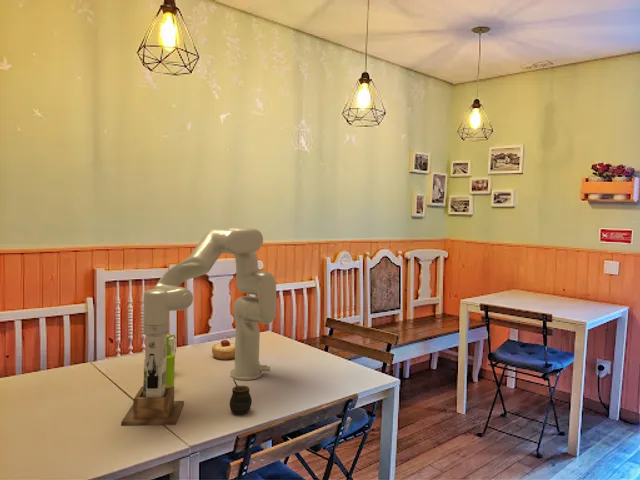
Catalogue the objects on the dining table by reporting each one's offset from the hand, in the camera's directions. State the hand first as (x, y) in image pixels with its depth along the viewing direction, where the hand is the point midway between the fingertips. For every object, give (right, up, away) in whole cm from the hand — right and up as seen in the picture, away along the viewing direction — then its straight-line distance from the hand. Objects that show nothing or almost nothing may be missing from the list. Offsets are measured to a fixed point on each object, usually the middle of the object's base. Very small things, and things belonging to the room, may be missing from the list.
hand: (154, 383), depth 157 cm
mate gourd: (+26, -11, +5) cm, 29 cm away
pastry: (+11, -6, +62) cm, 63 cm away
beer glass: (-8, -7, +36) cm, 37 cm away
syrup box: (0, -6, 0) cm, 6 cm away
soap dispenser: (-3, -9, +21) cm, 22 cm away
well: (0, -10, +1) cm, 10 cm away
